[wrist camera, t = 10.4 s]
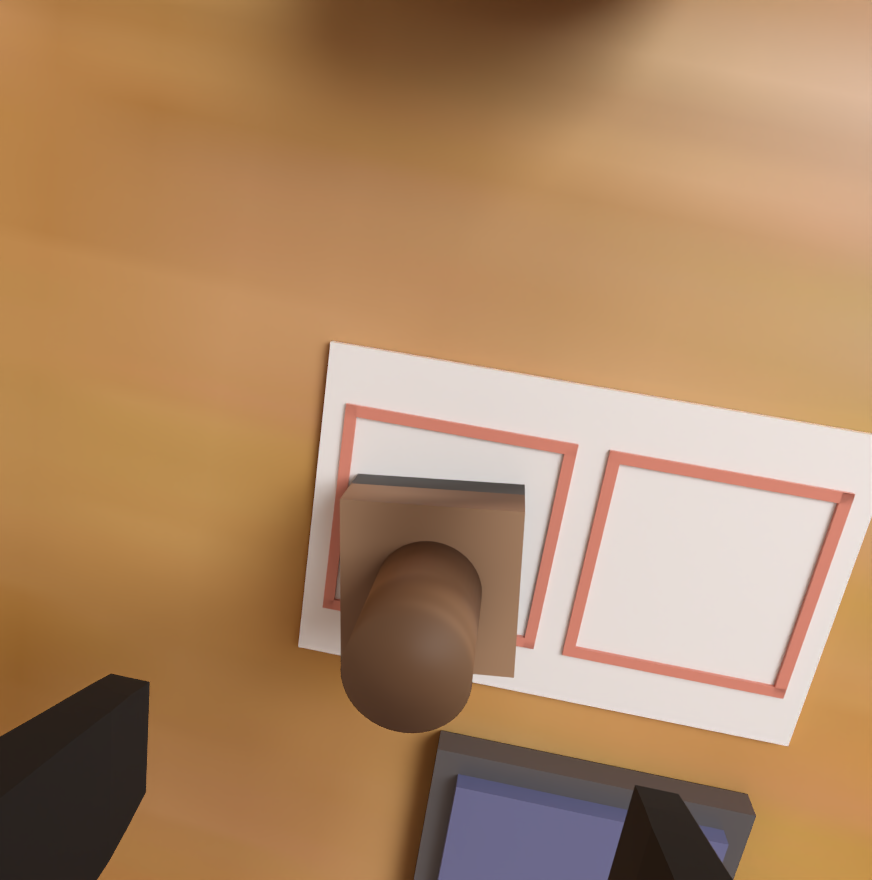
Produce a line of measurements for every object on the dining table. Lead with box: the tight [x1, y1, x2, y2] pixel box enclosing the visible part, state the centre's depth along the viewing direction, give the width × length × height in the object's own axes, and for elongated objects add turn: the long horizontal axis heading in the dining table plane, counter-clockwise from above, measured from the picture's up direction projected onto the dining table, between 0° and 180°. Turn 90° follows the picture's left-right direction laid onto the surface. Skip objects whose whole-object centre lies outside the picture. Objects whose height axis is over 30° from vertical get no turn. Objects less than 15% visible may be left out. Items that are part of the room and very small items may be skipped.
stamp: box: [340, 474, 525, 733], centre depth 17 cm, size 4×4×6 cm
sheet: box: [298, 341, 872, 746], centre depth 19 cm, size 14×9×1 cm, turn 82°
